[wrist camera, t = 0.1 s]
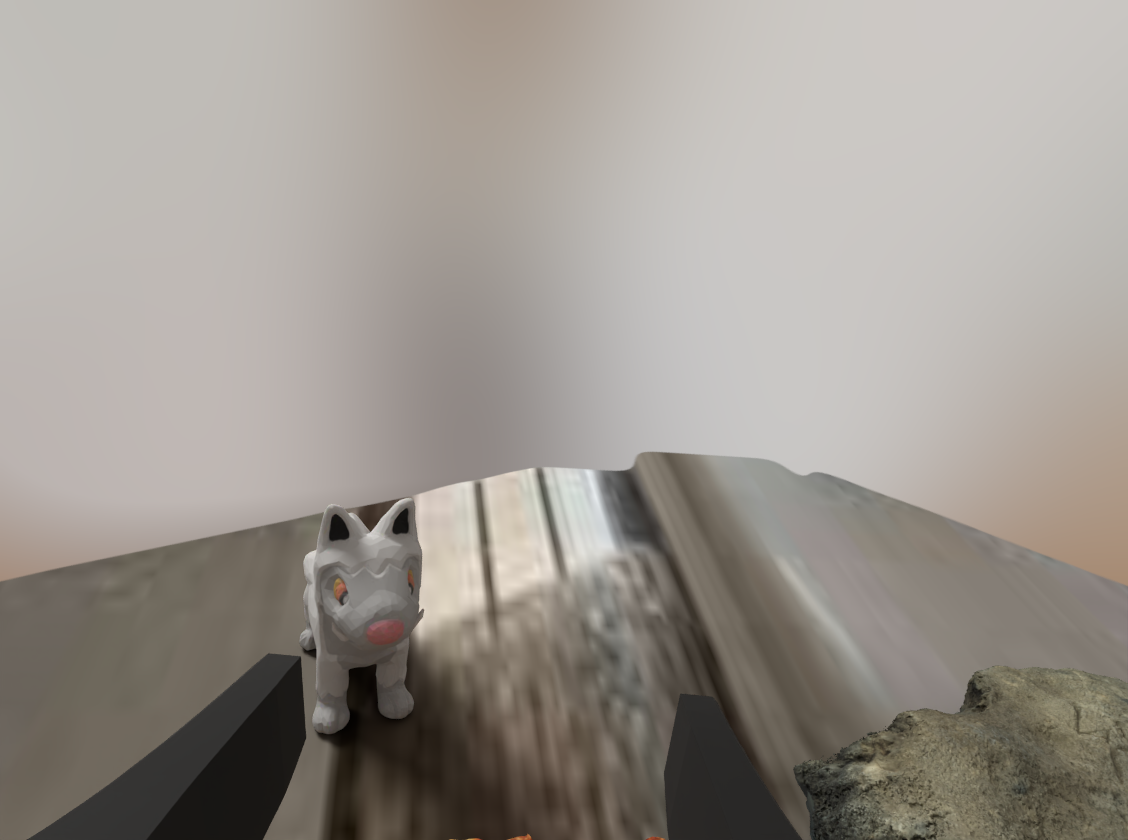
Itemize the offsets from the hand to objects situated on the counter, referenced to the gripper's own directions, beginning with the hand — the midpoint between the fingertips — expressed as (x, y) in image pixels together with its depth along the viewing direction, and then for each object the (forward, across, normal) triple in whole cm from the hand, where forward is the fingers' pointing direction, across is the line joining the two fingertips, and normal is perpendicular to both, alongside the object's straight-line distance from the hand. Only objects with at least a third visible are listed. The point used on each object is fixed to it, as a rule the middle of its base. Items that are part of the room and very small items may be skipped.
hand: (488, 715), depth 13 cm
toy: (+24, +11, +24) cm, 35 cm away
